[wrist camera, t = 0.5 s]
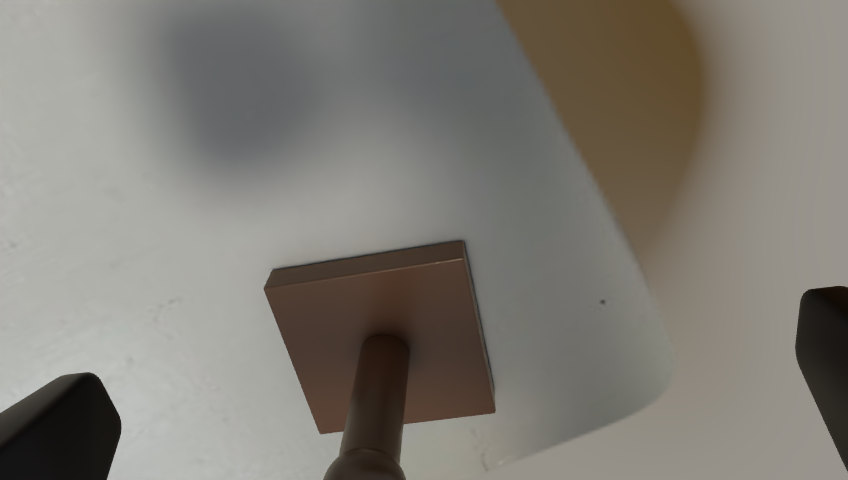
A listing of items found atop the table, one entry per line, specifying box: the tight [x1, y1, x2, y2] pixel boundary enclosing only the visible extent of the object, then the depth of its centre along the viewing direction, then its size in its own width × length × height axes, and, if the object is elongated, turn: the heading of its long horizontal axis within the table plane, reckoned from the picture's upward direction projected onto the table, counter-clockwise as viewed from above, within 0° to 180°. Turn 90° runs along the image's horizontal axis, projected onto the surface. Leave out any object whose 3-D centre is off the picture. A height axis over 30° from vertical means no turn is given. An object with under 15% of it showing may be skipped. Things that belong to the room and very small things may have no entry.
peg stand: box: [264, 241, 496, 480], centre depth 21 cm, size 7×7×8 cm
